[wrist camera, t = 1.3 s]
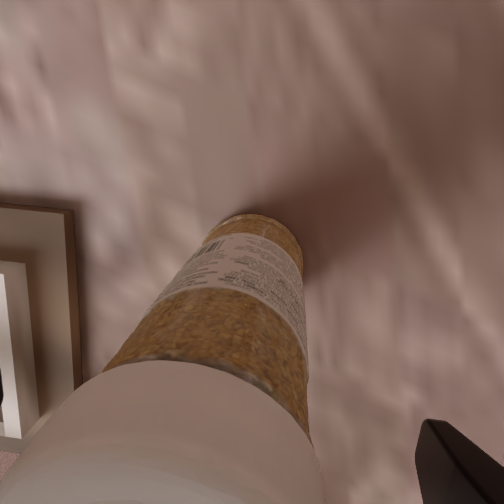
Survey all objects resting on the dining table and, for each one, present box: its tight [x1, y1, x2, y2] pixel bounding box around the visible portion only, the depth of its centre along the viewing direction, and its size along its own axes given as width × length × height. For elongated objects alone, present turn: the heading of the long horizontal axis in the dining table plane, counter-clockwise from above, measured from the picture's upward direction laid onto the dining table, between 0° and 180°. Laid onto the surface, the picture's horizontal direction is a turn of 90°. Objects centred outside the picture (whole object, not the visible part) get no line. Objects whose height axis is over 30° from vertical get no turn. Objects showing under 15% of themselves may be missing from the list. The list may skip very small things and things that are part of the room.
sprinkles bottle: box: [0, 214, 325, 504], centre depth 11 cm, size 5×5×14 cm
